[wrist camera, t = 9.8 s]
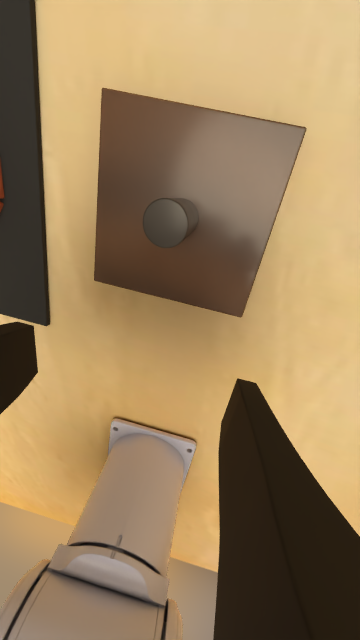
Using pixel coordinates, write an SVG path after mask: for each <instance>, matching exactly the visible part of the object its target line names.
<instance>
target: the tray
mask: <svg viewBox="0 0 360 640" xmlns="http://www.w3.org/2000/svg"><path fill="white" fill-rule="evenodd" d="M0 162H1V171H2V180H3V189H4V198H3V199H2V198H0V201H1V202H2V203H3V204H4V205H3V207H2V210H1V212H0V314H3V315H7V316H10V317H14V318H18V319H22V320H25V321H29V322H33V323H36V324H40V325H44V326H48V325H49V324H50V320H49V299H48V278H47V256H46V235H45V214H44V193H43V172H42V151H41V130H40V108H39V87H38V66H37V45H36V24H35V3H34V0H0Z"/></svg>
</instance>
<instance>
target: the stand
mask: <svg viewBox="0 0 360 640" xmlns="http://www.w3.org/2000/svg"><path fill="white" fill-rule="evenodd" d="M305 132H306V127H301V126H296V125H291V124H286V123H281V122H276V121H270V120H265V119H260V118H255V117H250V116H245V115H240V114H235V113H230V112H224V111H219V110H214V109H209V108H204V107H199V106H194V105H189V104H184V103H178V102H173V101H168V100H163V99H158V98H153V97H148V96H143V95H138V94H132V93H127V92H122V91H117V90H112V89H107V88H102V99H101V124H100V148H99V173H98V197H97V222H96V247H95V271H94V280H95V281H98V282H102V283H106V284H110V285H114V286H118V287H122V288H126V289H130V290H134V291H138V292H142V293H146V294H150V295H154V296H158V297H162V298H166V299H170V300H174V301H178V302H182V303H186V304H190V305H194V306H198V307H202V308H206V309H209V310H213V311H217V312H221V313H225V314H229V315H233V316H237V317H242V315H243V312H244V309H245V306H246V303H247V301H248V298H249V295H250V292H251V289H252V286H253V283H254V280H255V277H256V274H257V272H258V269H259V266H260V263H261V260H262V257H263V254H264V251H265V248H266V245H267V242H268V240H269V237H270V234H271V231H272V228H273V225H274V222H275V219H276V216H277V213H278V211H279V208H280V205H281V202H282V199H283V196H284V193H285V190H286V187H287V184H288V181H289V179H290V176H291V173H292V170H293V167H294V164H295V161H296V158H297V155H298V152H299V150H300V147H301V144H302V141H303V138H304V135H305Z"/></svg>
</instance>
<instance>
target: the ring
mask: <svg viewBox="0 0 360 640" xmlns="http://www.w3.org/2000/svg"><path fill="white" fill-rule="evenodd" d="M0 198H2V199H3V198H4V189H3V180H2V171H1V162H0ZM3 205H4V204H3V203H2V202H1V201H0V212H1V210H2V207H3Z"/></svg>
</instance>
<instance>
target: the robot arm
mask: <svg viewBox="0 0 360 640" xmlns="http://www.w3.org/2000/svg"><path fill="white" fill-rule="evenodd" d="M37 373H38V368H37V357H36V346H35V335H34V326H32V325H28V324H24V323H20V322H13V323H8V324H3V325H0V414H1V413H2V412H3V411H4V410H5V409H6V408H7V407H8V406H9V405H10V404H11V403H12V402H13V401H14V400H15V399H16V398H17V397H18V396H19V395H20V394H21V393H22V392H23V390H24V389H25V388H26V387H27V386H28V384H29V383H30V382H31V380H32V379H33V378H34V377H35V375H36V374H37ZM195 449H196V442H195V441H193V440H190V439H187V438H183V437H180V436H176V435H173V434H169V433H166V432H163V431H159V430H156V429H152V428H149V427H145V426H142V425H138V424H135V423H131V422H128V421H124V420H121V419H117V418H116V419H113V420H112V422H111V429H110V439H109V449H108V458H107V460H106V462H105V464H104V466H103V469H102V471H101V473H100V475H99V477H98V479H97V481H96V483H95V486H94V488H93V490H92V492H91V494H90V496H89V498H88V501H87V503H86V505H85V507H84V509H83V511H82V513H81V515H80V518H79V520H78V522H77V524H76V526H75V528H74V530H73V532H72V535H71V537H70V539H69V541H68V543H67V545H63V544H59V545H58V547H57V549H56V551H55V553H54V556H53V557H52V560H48V559H44V560H42V561H40V562H39V563H38V564H37V565H35V566H34V567H33V568H32V569H31V570H29V571H28V572H27V573H26V574H25V575H24V576H23V577H22V578H21V579H20V580H19V582H18V583H17V584H16V586H15V587H14V588H13V590H12V592H11V593H10V594H9V596H8V598H7V599H6V601H5V602H4V604H3V606H2V607H1V609H0V640H182V635H183V634H182V633H183V625H182V618H181V615H180V613H179V611H178V609H177V603H176V602H175V601H174V600H172V599H167V601H166V598H167V592H168V585H169V579H168V578H167V577H166V575H167V569H168V563H169V557H170V551H171V545H172V539H173V533H174V527H175V521H176V515H177V509H178V503H179V497H180V493H181V490H182V487H183V484H184V482H185V479H186V476H187V473H188V470H189V467H190V464H191V461H192V458H193V455H194V452H195ZM219 515H220V547H219V567H218V583H217V598H216V613H215V626H214V640H360V536H359V535H358V534H357V533H356V532H355V530H354V529H353V528H352V527H351V525H350V524H349V523H348V521H347V520H346V519H345V518H344V516H343V515H342V514H341V512H340V511H339V510H338V508H337V507H336V506H335V505H334V503H333V502H332V501H331V499H330V498H329V497H328V496H327V494H326V493H325V491H324V490H323V489H322V487H321V486H320V485H319V483H318V482H317V480H316V479H315V478H314V476H313V475H312V473H311V472H310V470H309V469H308V467H307V466H306V465H305V463H304V462H303V460H302V459H301V457H300V456H299V454H298V453H297V451H296V450H295V448H294V447H293V445H292V443H291V442H290V440H289V439H288V437H287V435H286V434H285V432H284V430H283V429H282V427H281V426H280V424H279V422H278V421H277V419H276V417H275V415H274V414H273V412H272V410H271V409H270V407H269V405H268V403H267V401H266V400H265V398H264V396H263V394H262V393H261V391H260V389H259V387H258V386H257V384H256V383H253V382H250V381H246V380H242V379H238V378H237V381H236V384H235V386H234V389H233V392H232V395H231V397H230V400H229V403H228V406H227V408H226V411H225V414H224V417H223V419H222V423H221V432H220V443H219Z"/></svg>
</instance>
